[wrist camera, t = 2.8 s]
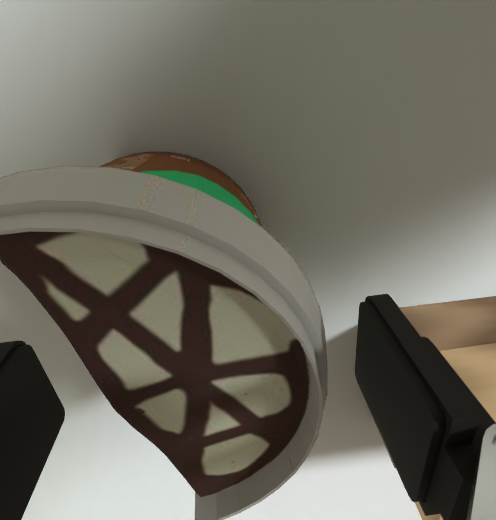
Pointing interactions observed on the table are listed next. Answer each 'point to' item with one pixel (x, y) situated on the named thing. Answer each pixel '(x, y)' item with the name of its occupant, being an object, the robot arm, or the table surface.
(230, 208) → the food container
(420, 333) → the tan cardboard flat block
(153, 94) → the table surface
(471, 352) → the oak slab
